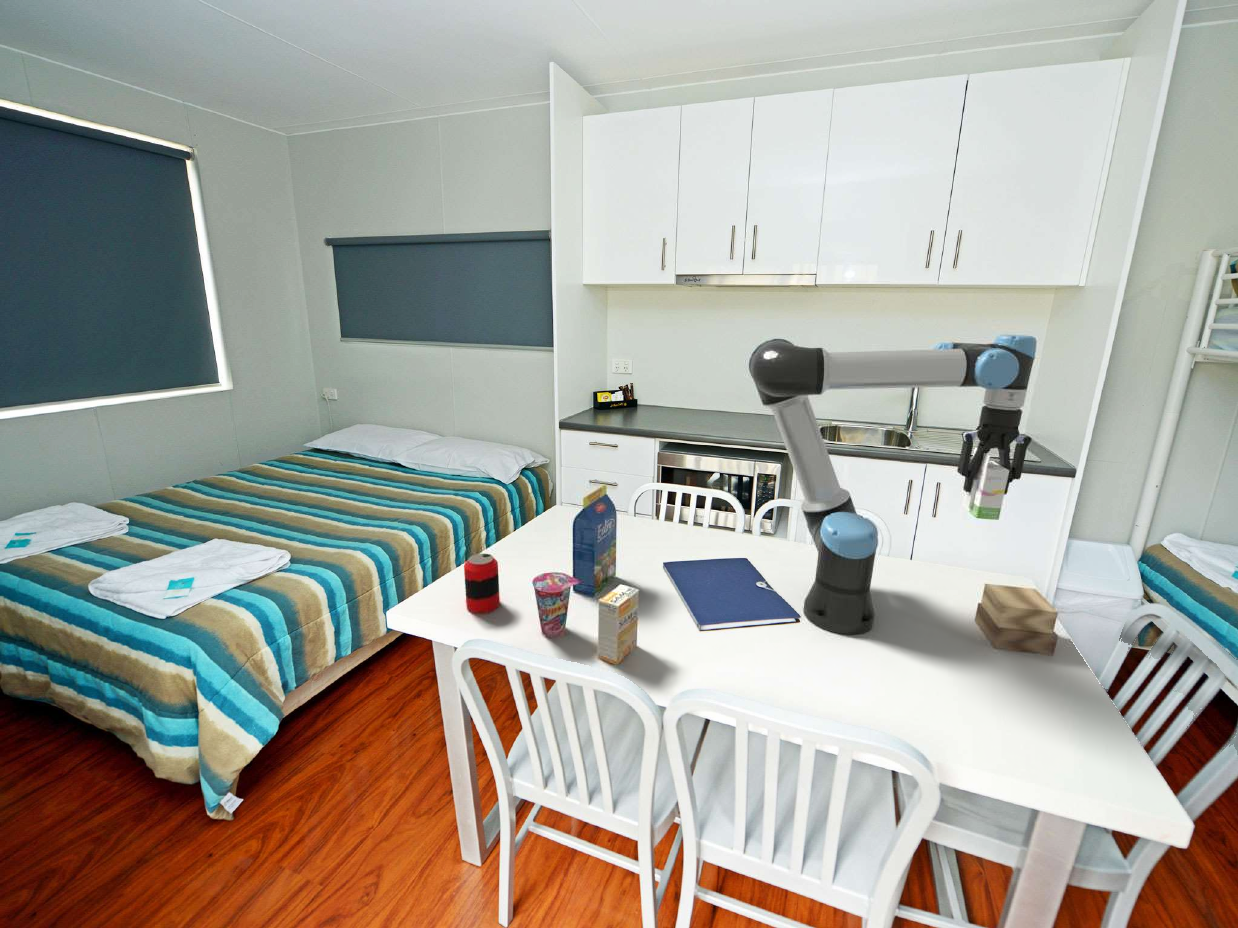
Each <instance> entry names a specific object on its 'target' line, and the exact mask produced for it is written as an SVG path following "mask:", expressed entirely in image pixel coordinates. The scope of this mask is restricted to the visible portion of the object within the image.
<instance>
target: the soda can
mask: <svg viewBox="0 0 1238 928" xmlns="http://www.w3.org/2000/svg"><path fill="white" fill-rule="evenodd" d="M463 569H464V570H463V571H464V587H465V589H464V590H465V602H466V603H465V604H466V609H467V610H468V611H469V612H471V613H473V614H480V615H481V614H488V613H491V612H493V611H495V610H496V609H497V608H498V607H500V604H501V601H500V582H499V581H500V580H499V563H498V560H497V559H496V558H495V557H494V556H493V555H492V554H489V553H476V554H473V555H471V556H469V557H468V559H467V560H466V561H465V563H464V565H463Z"/></svg>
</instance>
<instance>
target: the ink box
mask: <svg viewBox="0 0 1238 928" xmlns="http://www.w3.org/2000/svg"><path fill="white" fill-rule="evenodd" d="M976 451H977V447H975V448H974V450H973V455H972V458H971V460H972V459H973V457H974V455H975V453H976ZM990 459H991V455H990V454H988V453H987V454H986V453H984V456H983V460H982V464H981V466H980V468H979V470H978V472H977V474H976V476H975V479H977V480H978V483H977V488H976V493H975V498H974V503H973V507H968V506H967V505H966V504H965V498H966V493H967V492H966V491H964V492H965V494H964V498H963V502H962V503H963V504H962V507H963V508H964V509H966V510H967V512H969V513H970V514H971V515H972V516H973V517H974V518H975V519H983V520H995V521H997V520H1000V516H1001V512H1002V511H1001V509H1002V506H1003V500H1004V497H1005V496H1004V492H1005V488H1006V483H1007V479H1008V474H1009V470H1007V469H1006V468H1004V467H1002V466H1000V463H997V462H995V461H994V460H990Z"/></svg>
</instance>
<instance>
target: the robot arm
mask: <svg viewBox="0 0 1238 928" xmlns="http://www.w3.org/2000/svg"><path fill="white" fill-rule="evenodd" d="M1036 351H1037V338H1036V337H1034V336H1032V335H1026V334H1024V335H1023V334H998V335H997V336H996V338H995V340H994V342H993V343H973V342H972V343H971V342H967V343H966V342H954V341H952V342H939V343H938V344H936V345H935V346H934V347H933V349H908V350H907V349H906V350H878V351H877V350H875V351H874V350H873V351H870V350H869V351H868V350H867V351H839V352H838V351H836V352H833V351H832V352H831V351H830V352H828V351H827V350H826V349H825V348H823V347H804V346H799V345H795V344H793V343H792V342H791V341H789V340H787V339H783V338H772V339H769V340H766V341H764V342H762V343H760V344H759V345H758V346H756V347H755V349H754V350H753V351H752V353H751V355H750V358H749V359H748V360H749V362H748V370H749V374H750V376H751V378H752V380H753V382H754V384H755V387H756V389H757V393H758V396H759V398H760V401H761V403H762V405H763V406H764V407H766V408H768V409H770V410H771V411H772V414H773V417H774V419H775V422H776V424H777V427H778V431H779V433H780V436H781V438H782V441H783V444H784V446H785V449H786V451H787V454H788V457H789V460H790V463H791V465H792V468H793V471H794V473H795V476H796V478H797V482H798V484H799V486H800V490H801V492H802V494H803V497H804V499H803V501H802V503H801V505H800V508H801V511H802V513H803V516H804V518H805V521H806V527H807V528H808V529H807V530H808V532H809V534H810V535H811V537H812V540H813V543H814V545H815V548H816V551H817V562H816V570H815V578H814V582H813V584H812V586H811V588H810V589H809V591H808V592H807V595H806V597H805V599H804V601H803V615H804V616H805V618H806V619H807V620H808V621H809V622H811V623H812V624H813V625H815V626H817V627H819V628H821V629H823V630H826V631H829V632H832V633H837V634H841V635H858V634H859V635H860V634H864V633H866V632H869V631H870V630H872V628H873V627H874V623H875V610H874V609H875V608H874V605H873V601H872V595H871V591H870V590H871V584H872V578H873V573H874V565H875V560H876V552H877V549H878V546H879V537H878V536H879V532H878V528H877V526H876V524H875V523H874V522H873V521H872V520H871V519H869V518H866V517H864V516H863V515H861V514H858V513H857V511H856V507H855V505H854V502H853V499H852V496H851V495H850V491H848V490H847V489H844V488H842V487H841V486H840V483H839V480H838V477H837V474H836V472H835V469H834V466H833V463H832V460H831V458H830V454H829V452H828V448H827V446H826V443H825V441H824V437H823V435H822V432H821V429H820V426H819V424H818V420H817V419H816V418H817V417H816V415H815V413H814V410H813V407H812V404H811V402H810V399H809V396H818V395H819V396H820V395H821V396H822V395H823V394H824V393H825V392H826V391H828V390H861V389H862V390H866V389H868V390H869V389H903V388H904V389H909V388H910V389H911V388H913V389H914V388H946V387H947V388H949V387H952V388H953V387H955V388H956V387H957V388H959V387H960V388H961V387H962V388H968V387H970V388H971V387H972V388H973V387H976V388H977V387H980V388H983V389H985V390H984V395H983V401H982V403H983V404H984V405H982V407H981V410H980V411H981V412H980V416H979V422H978V423H979V424H978V426H977V427H976V428H975V430H972V431H969V432H968V431H963V432H962V433H961V438H962V446H961V451H960V454H959V455H960V456H959V459H958V460H959V462H958V466H957V470H956V472H957V473H958V474H959V475H960V476H962V477H964V482H963V486H962V487H963V491H964V492H967V493H966V498H965V504H966V505H967V506H968V507H973V503H974V498H975V493H976V488H977V483H978V480H977V479H975V476H976V474H977V472H978V470H979V468H980V466H981V464H982V460H983V456H984V453H986V454H988V453H989V452H991V451H990V450H991V449H997V451H998V461H999V465H1000V466H1002V467H1004V468H1006V469H1007V470H1009V474H1008V479H1007V483H1006V488H1005V492H1004V495H1005V496H1006V495H1007V494H1008V492H1009V487H1010V483H1012V482H1013V481H1014V480H1020V479H1021V478H1022V473H1023V468H1024V463H1025V459H1026V454H1027V449H1028V447H1029V445H1030V444H1031V442H1032V437H1030V436H1028V435H1026V434H1021V433H1020V430H1019V426H1020V423H1021V419H1022V414H1023V410H1022V409H1021V408H1022V407H1024V405H1025V400H1026V396H1027V391H1028V386H1029V381H1030V378H1031V375H1032V374H1031V373H1032V369H1033V365H1034V360H1035V359H1036ZM976 438H977V439H978V440H979V442H978V444H977V447H976V448H977V451H976V453H975V455H974V457H973V456H972V452H973V448H974V441H975V440H976ZM1014 441H1015V442H1016V444H1015V446H1014V447H1015V448H1014V452H1013V456H1012V462H1011V455H1010V453H1011V444H1012V443H1013V442H1014ZM971 457H972V458H973V459H972V458H971Z"/></svg>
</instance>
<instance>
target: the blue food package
mask: <svg viewBox="0 0 1238 928" xmlns="http://www.w3.org/2000/svg"><path fill="white" fill-rule="evenodd" d="M582 499H583V501H582V502H583V504H582V505H583V507H582V509H581V510H580V511H579V512H578V513H577V514H576V515H575V517H574V518H573V522H572V577H573V578H575V579H577V580H578V581H579V583H578V584H575V585H573V586H572V592H574V593H577V594H582V595H584V596H585V595H586V596H590V597H595V596H596V595H598V594H600V592H602V590H603V589H604V588H606V587H607V585H608V584H611V582H612V581H613V579H614V578H615V577H616V576H617V525H618V524H617V523H618V521H617V520H618V519H617V517H618V516H617V508H616V506H615V503H614V502H613V500H612V499H611V497H609V494H607V483H605V484H604V485H601V486H600V487H599V488H597V489H596V490H594V491H592V492H590V493H589V494H587V495H586V496H584V497H583V498H582Z"/></svg>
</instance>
